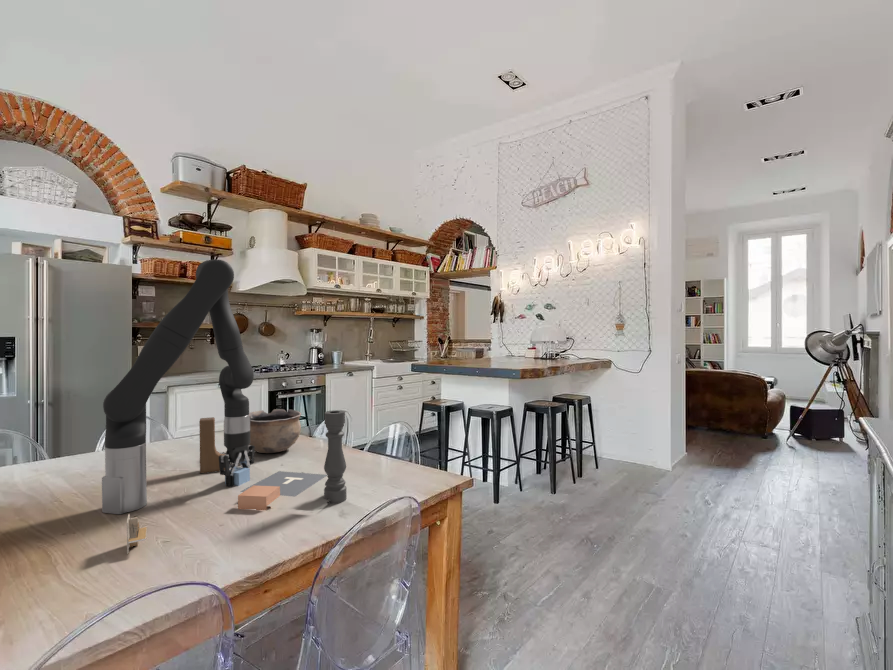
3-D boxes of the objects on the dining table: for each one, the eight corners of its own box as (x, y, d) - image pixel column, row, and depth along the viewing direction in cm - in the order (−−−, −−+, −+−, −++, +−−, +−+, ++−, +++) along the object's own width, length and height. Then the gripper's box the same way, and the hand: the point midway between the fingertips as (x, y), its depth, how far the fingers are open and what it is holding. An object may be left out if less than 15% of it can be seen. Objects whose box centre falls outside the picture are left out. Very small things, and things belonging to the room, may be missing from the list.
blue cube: (239, 489, 142) (238, 473, 142) (225, 488, 143) (224, 471, 143) (249, 484, 147) (249, 468, 146) (236, 482, 148) (236, 467, 148)
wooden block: (229, 466, 164) (228, 415, 164) (229, 470, 160) (229, 418, 160) (200, 470, 161) (200, 418, 160) (200, 473, 157) (199, 420, 156)
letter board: (294, 500, 132) (294, 496, 132) (239, 495, 137) (239, 491, 137) (328, 477, 152) (328, 474, 152) (279, 474, 156) (279, 470, 156)
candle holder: (324, 504, 129) (323, 414, 129) (324, 496, 135) (323, 410, 135) (347, 502, 131) (346, 413, 130) (345, 494, 137) (345, 409, 136)
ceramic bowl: (302, 443, 198) (302, 407, 198) (300, 456, 177) (300, 417, 177) (246, 446, 192) (246, 410, 192) (237, 461, 171) (237, 420, 171)
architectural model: (146, 542, 108) (146, 510, 108) (145, 555, 102) (145, 521, 102) (128, 546, 106) (128, 513, 106) (126, 559, 100) (126, 524, 100)
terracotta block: (266, 511, 125) (266, 496, 125) (238, 510, 126) (238, 495, 126) (280, 500, 133) (279, 486, 133) (253, 499, 134) (253, 485, 134)
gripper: (231, 435, 137) (232, 492, 137) (262, 425, 151) (262, 477, 151) (210, 434, 138) (210, 490, 139) (241, 424, 152) (242, 475, 153)
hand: (237, 483), depth 145 cm, fingers open, 6 cm apart
